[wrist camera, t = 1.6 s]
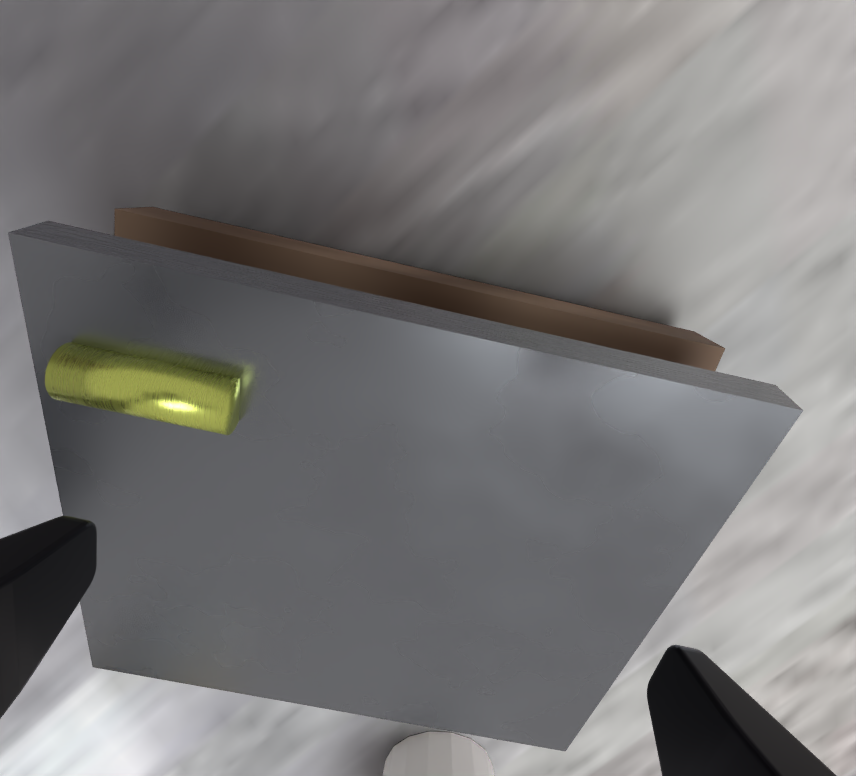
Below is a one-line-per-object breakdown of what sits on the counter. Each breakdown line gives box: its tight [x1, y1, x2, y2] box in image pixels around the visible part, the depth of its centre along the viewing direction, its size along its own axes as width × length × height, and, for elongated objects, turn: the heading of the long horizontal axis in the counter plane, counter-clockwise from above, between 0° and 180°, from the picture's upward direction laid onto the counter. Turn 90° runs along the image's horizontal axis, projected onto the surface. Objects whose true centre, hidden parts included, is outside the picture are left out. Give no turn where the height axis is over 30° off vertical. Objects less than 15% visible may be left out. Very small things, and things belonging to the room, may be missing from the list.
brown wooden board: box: [115, 207, 725, 371], centre depth 19 cm, size 18×16×3 cm
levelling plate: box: [8, 221, 803, 751], centre depth 15 cm, size 18×16×2 cm
